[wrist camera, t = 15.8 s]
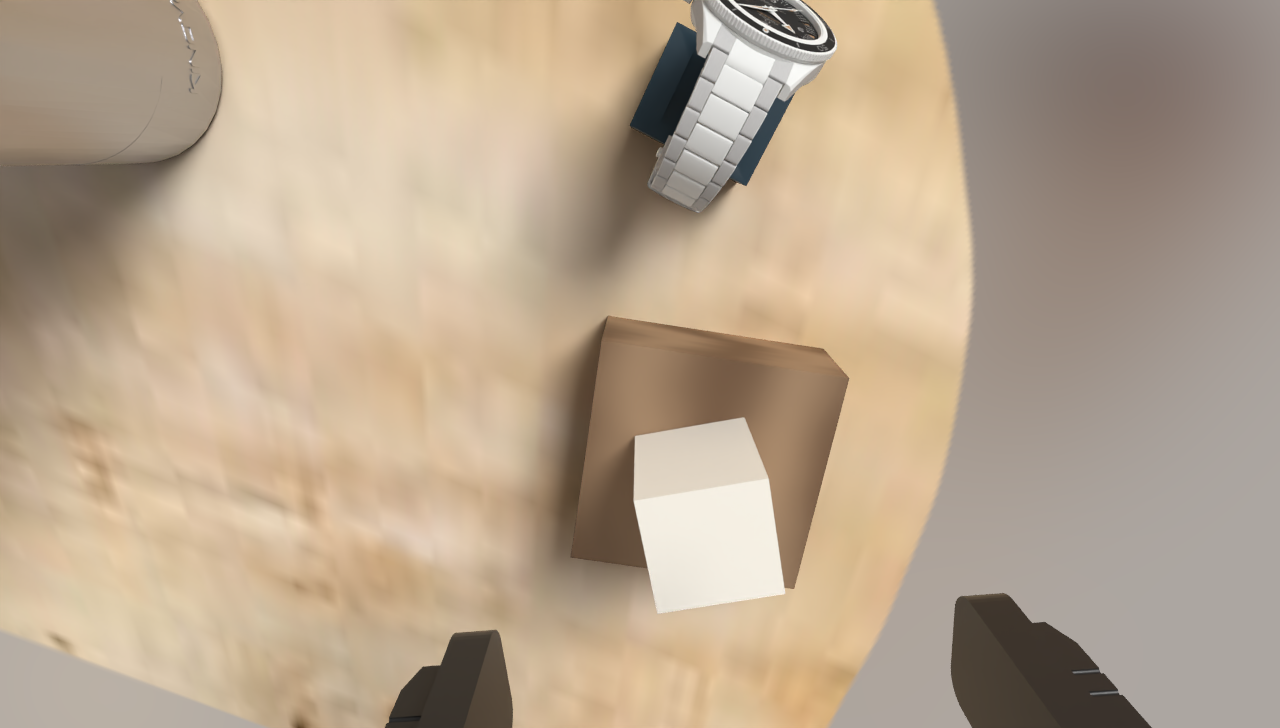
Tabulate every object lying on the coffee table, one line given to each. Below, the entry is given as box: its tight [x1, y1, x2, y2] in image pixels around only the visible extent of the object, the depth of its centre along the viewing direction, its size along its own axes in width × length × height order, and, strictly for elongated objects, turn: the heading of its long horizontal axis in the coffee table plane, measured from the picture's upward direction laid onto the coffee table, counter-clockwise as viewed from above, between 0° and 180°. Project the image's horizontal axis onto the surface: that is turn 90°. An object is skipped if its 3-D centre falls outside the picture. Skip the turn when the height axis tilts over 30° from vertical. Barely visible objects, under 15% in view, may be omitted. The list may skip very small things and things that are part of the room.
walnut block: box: [571, 316, 849, 589], centre depth 33 cm, size 11×11×5 cm
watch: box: [630, 0, 837, 213], centre depth 25 cm, size 6×8×11 cm
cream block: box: [634, 417, 785, 614], centre depth 28 cm, size 5×5×6 cm
